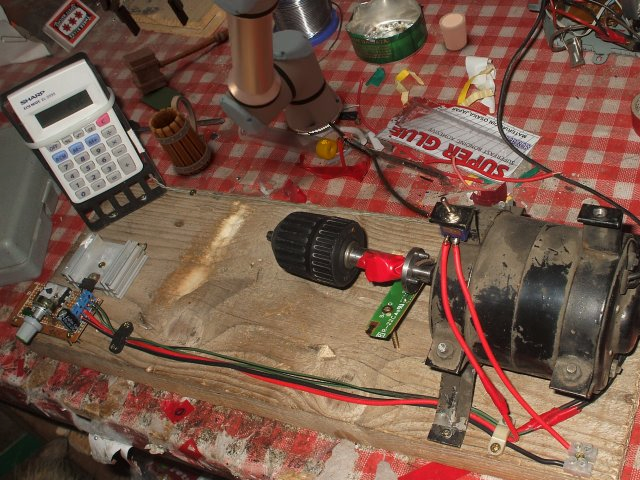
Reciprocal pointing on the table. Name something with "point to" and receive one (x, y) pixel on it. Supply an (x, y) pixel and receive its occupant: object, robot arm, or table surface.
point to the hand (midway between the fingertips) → (161, 27)
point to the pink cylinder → (454, 30)
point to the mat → (160, 98)
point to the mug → (181, 137)
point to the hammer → (159, 64)
